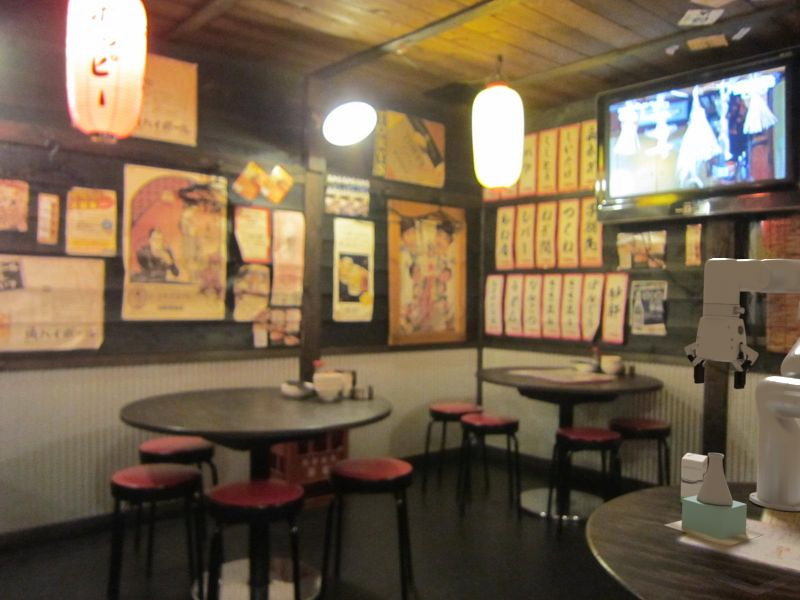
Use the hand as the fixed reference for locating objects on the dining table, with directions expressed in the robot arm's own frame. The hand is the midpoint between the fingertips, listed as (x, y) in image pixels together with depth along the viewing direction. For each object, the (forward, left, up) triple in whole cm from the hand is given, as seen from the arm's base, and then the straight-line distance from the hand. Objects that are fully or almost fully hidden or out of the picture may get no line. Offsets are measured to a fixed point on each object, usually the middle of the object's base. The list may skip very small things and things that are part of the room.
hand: (718, 385), depth 152 cm
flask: (+12, +7, -23) cm, 27 cm away
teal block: (+12, +7, -29) cm, 32 cm away
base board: (+12, +7, -30) cm, 33 cm away
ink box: (-4, -8, -31) cm, 32 cm away
